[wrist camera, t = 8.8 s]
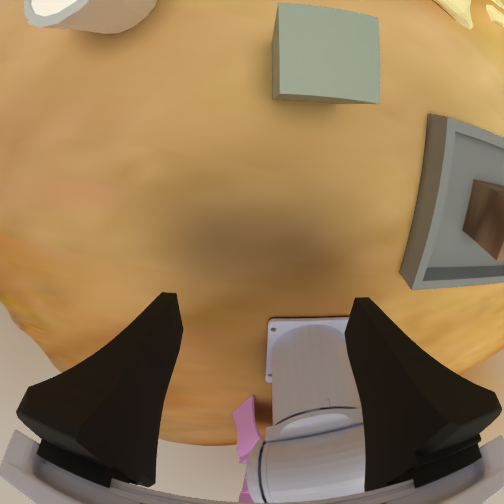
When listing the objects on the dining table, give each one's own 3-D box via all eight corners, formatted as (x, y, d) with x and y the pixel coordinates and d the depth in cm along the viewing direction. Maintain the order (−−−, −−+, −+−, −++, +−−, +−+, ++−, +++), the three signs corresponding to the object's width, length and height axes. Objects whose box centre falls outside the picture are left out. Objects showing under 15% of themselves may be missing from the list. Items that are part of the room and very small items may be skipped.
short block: (492, 232, 18) (524, 259, 13) (462, 230, 18) (496, 261, 14) (503, 185, 16) (540, 208, 11) (473, 178, 16) (514, 202, 11)
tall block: (335, 103, 15) (379, 103, 9) (272, 99, 15) (279, 93, 9) (335, 46, 13) (377, 17, 7) (271, 41, 13) (278, 3, 7)
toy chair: (283, 427, 35) (284, 516, 22) (228, 415, 33) (219, 513, 20) (316, 404, 31) (326, 508, 18) (255, 390, 30) (251, 510, 17)
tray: (502, 268, 20) (514, 281, 18) (399, 272, 21) (411, 290, 19) (532, 154, 14) (548, 161, 12) (427, 113, 14) (447, 117, 12)
